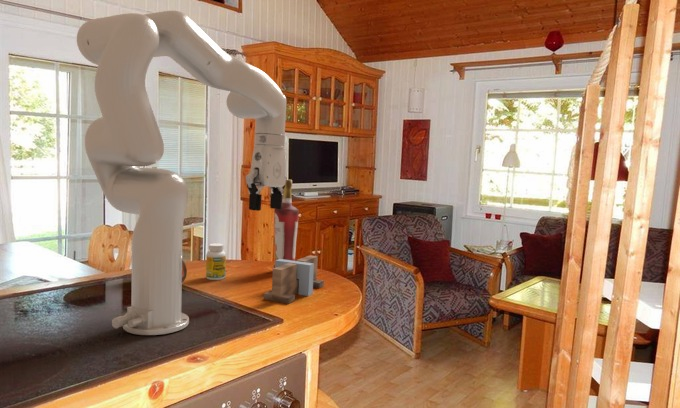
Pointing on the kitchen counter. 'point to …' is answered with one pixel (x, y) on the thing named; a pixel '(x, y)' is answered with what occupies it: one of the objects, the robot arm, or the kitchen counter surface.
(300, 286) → the blue slotted plate
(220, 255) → the supplement bottle
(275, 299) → the walnut slotted rail
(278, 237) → the liquor
